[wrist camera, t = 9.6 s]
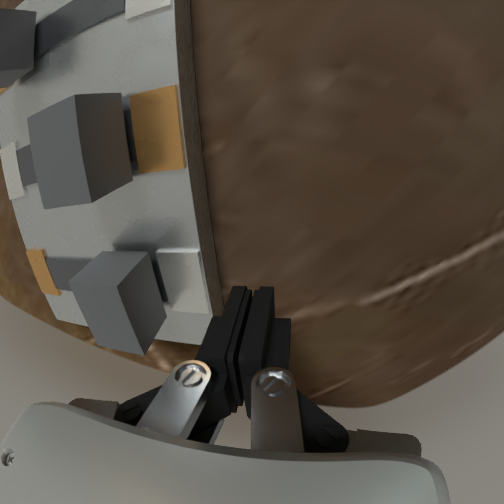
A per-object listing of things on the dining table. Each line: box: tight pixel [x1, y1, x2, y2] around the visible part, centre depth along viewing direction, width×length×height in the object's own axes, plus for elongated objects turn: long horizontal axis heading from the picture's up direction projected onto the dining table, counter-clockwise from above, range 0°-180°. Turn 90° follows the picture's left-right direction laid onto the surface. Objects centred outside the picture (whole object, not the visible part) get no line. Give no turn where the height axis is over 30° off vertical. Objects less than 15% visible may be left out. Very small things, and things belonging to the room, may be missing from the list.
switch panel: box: [0, 0, 224, 345], centre depth 13 cm, size 14×24×2 cm, turn 4°
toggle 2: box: [27, 93, 133, 210], centre depth 9 cm, size 3×4×3 cm
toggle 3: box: [69, 251, 167, 356], centre depth 13 cm, size 3×4×3 cm
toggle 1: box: [0, 9, 37, 89], centre depth 7 cm, size 3×4×3 cm
